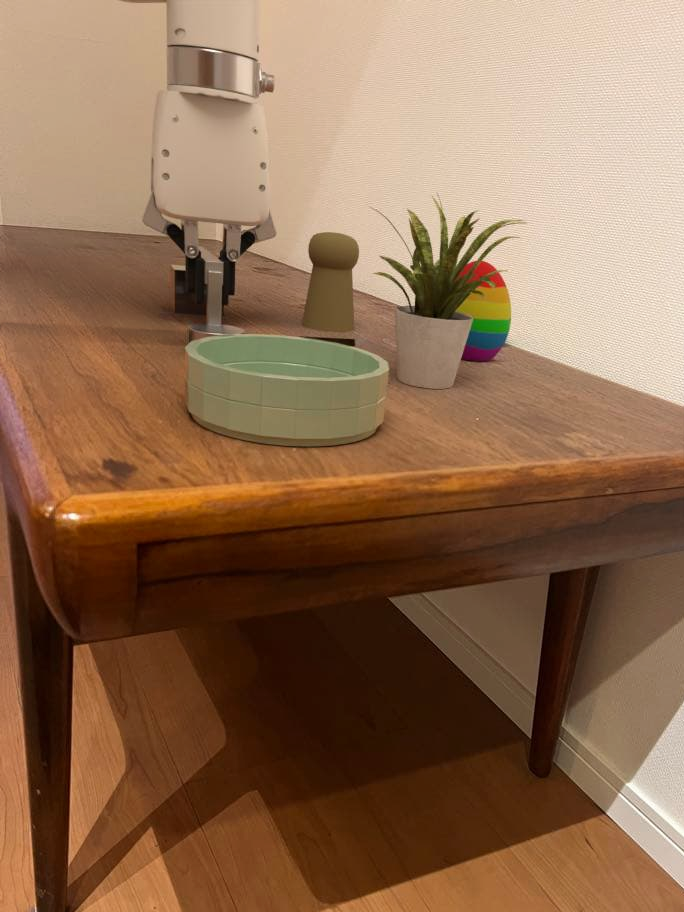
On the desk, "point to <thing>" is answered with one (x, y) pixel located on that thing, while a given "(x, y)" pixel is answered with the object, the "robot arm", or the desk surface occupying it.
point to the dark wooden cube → (185, 294)
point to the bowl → (285, 389)
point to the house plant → (437, 302)
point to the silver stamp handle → (212, 301)
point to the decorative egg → (486, 315)
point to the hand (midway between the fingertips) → (209, 300)
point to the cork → (331, 285)
